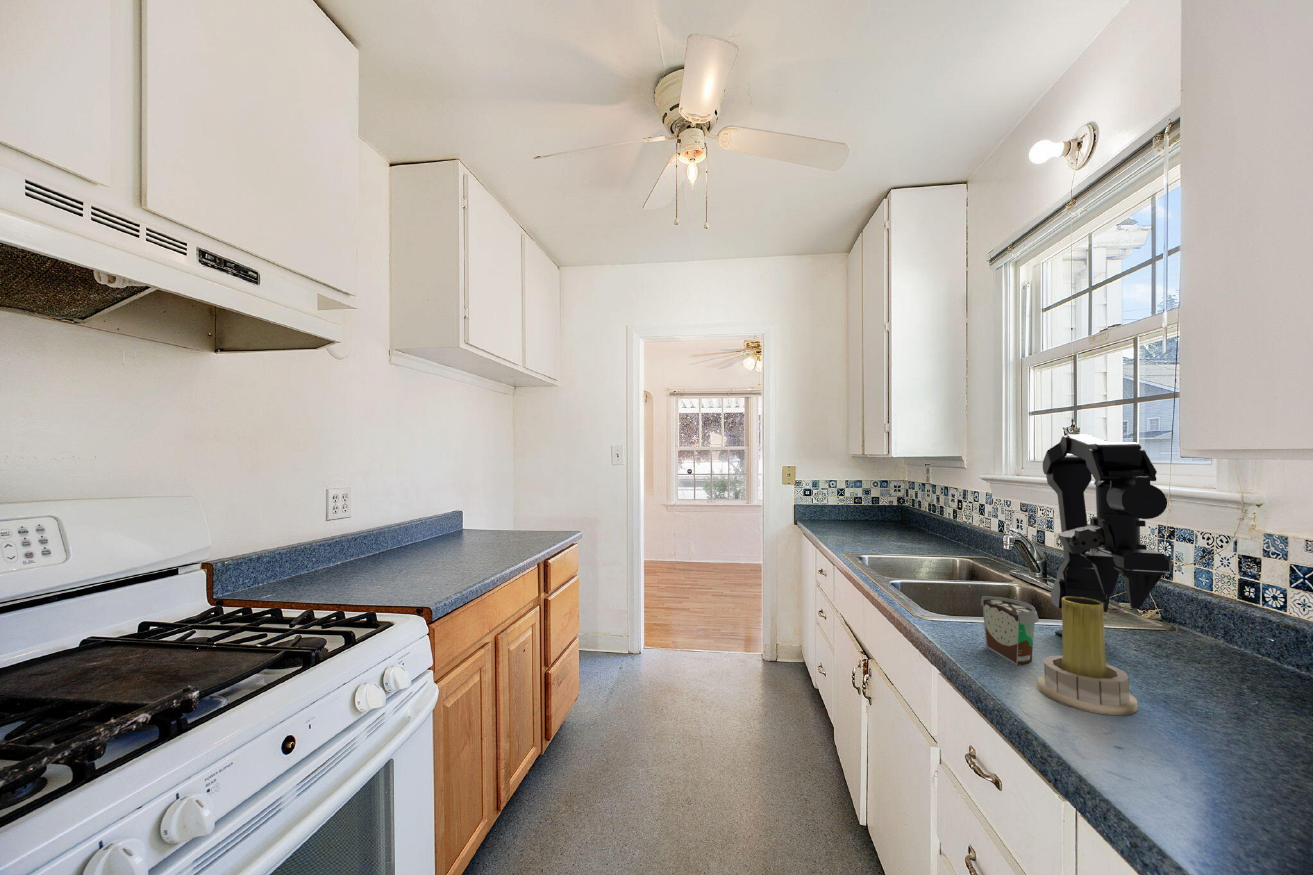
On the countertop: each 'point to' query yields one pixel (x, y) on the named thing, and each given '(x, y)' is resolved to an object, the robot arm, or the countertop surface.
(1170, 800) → the countertop surface
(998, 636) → the food container
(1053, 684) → the collar stand
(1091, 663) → the vase
